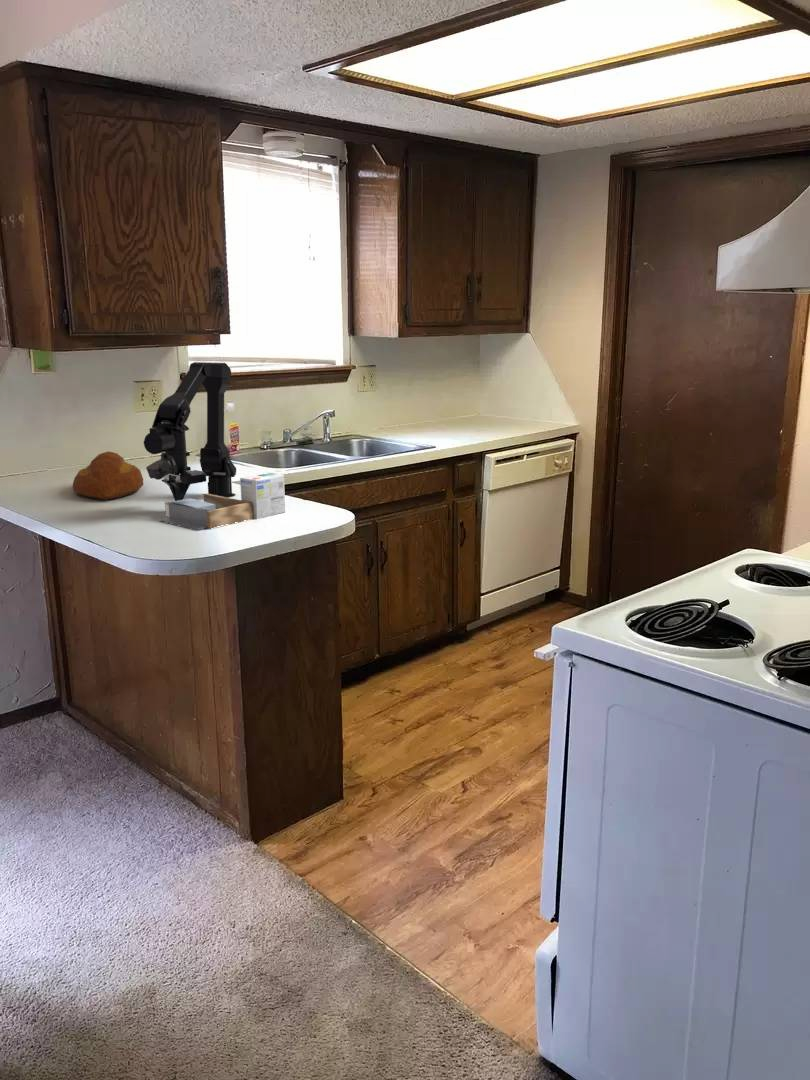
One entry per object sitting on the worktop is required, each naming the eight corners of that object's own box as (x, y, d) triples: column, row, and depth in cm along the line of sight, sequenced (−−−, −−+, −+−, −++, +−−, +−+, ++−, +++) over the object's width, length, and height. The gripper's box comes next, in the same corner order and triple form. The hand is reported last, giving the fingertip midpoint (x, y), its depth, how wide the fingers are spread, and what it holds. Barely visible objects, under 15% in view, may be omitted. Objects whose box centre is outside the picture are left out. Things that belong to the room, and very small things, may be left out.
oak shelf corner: (207, 509, 243) (206, 493, 241) (253, 518, 231) (252, 502, 230) (165, 518, 232) (163, 501, 231) (210, 529, 220) (209, 511, 219)
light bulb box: (270, 509, 243) (268, 471, 240) (286, 512, 239) (285, 474, 236) (240, 515, 235) (238, 477, 232) (257, 519, 231) (255, 480, 228)
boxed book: (190, 512, 241) (190, 498, 240) (216, 518, 233) (215, 504, 232) (165, 517, 235) (164, 502, 234) (190, 523, 227) (189, 509, 226)
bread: (148, 481, 284) (145, 444, 281) (139, 501, 253) (136, 460, 250) (81, 483, 280) (78, 445, 277) (64, 504, 249) (60, 462, 246)
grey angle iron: (173, 518, 231) (172, 502, 230) (211, 527, 222) (210, 510, 221) (160, 521, 228) (158, 504, 227) (198, 530, 219) (197, 513, 217)
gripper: (129, 448, 234) (134, 504, 238) (171, 456, 223) (175, 514, 227) (164, 444, 243) (167, 498, 247) (206, 451, 231) (209, 507, 235)
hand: (178, 504), depth 239 cm, fingers closed
